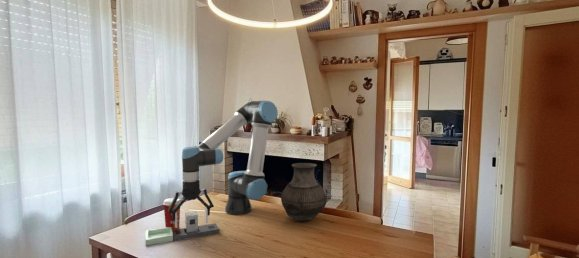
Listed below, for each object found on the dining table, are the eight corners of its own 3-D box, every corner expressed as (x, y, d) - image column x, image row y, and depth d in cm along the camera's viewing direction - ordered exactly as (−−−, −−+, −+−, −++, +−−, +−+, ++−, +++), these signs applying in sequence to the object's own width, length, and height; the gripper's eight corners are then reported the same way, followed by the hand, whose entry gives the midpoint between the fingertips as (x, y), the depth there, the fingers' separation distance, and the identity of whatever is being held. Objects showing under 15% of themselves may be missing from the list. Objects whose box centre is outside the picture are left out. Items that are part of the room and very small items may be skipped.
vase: (321, 231, 141) (321, 170, 139) (273, 225, 149) (274, 167, 147) (330, 214, 165) (331, 162, 163) (289, 209, 172) (289, 159, 170)
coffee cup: (175, 234, 138) (174, 202, 137) (159, 232, 139) (159, 201, 138) (184, 227, 146) (184, 197, 145) (170, 225, 147) (169, 196, 147)
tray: (171, 231, 140) (171, 226, 140) (173, 240, 130) (172, 235, 130) (145, 235, 135) (145, 230, 135) (145, 245, 125) (145, 239, 125)
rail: (215, 227, 146) (215, 223, 146) (219, 233, 138) (219, 228, 138) (173, 234, 137) (172, 229, 137) (174, 241, 130) (174, 236, 130)
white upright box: (196, 231, 140) (196, 211, 140) (198, 235, 136) (197, 214, 135) (185, 233, 138) (185, 212, 137) (186, 237, 133) (186, 216, 133)
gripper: (216, 176, 144) (216, 217, 145) (161, 180, 133) (162, 225, 135) (219, 179, 137) (219, 223, 139) (162, 184, 126) (163, 232, 128)
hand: (191, 224), depth 137 cm, fingers open, 13 cm apart
